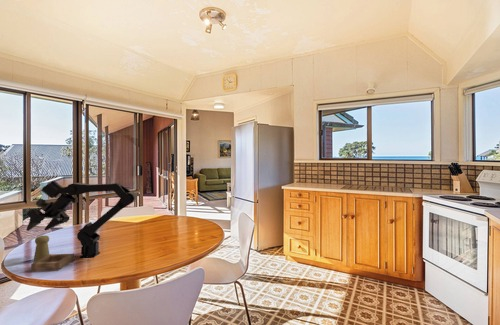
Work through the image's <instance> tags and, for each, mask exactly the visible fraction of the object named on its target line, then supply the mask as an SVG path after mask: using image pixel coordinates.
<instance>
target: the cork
mask: <svg viewBox="0 0 500 325" xmlns="http://www.w3.org/2000/svg"><path fill="white" fill-rule="evenodd" d="M49 242H50V237H49V236H48V235H39V236H37V237H36V238H35V239H34V243H35V251H34V256H33V263H34V262H36V261H38V260H40V259H41V258H43V257H45V256H47V255H49V254H50V249H49Z"/></svg>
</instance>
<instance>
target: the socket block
mask: <svg viewBox="0 0 500 325" xmlns="http://www.w3.org/2000/svg"><path fill="white" fill-rule="evenodd" d="M74 261H75V253H59V254H58V253H57V254H55V253H54V254H52V253H51V254H50V253H49V255H47V256H45V257H43V258H41V259H40V260H38V261H36V262H34V261H33V262H32V263H31V265H30V271H31V272H40V271H42V272H43V271H60V270H61V269H63V268H64V267H66V266H68V265H69V264H70V263H72V262H74Z"/></svg>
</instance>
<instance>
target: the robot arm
mask: <svg viewBox="0 0 500 325" xmlns="http://www.w3.org/2000/svg"><path fill="white" fill-rule="evenodd" d="M40 191H41V192H42V193H43V194H45V195H46V196H48V198H50V199H55V200H54V201H49V200H46V199H43V198H39V199H37V200H36V203H35V205H36V207H37V208H41V209H42V211H43V212H42V211H41V210H40V209H36V208H35V209H34V208H32V209H30V208H29V210H28V211H27V212H26V215H27V216H28V217H29V221H28V222H29V223H28V224H27V227H26V231H28V232H29V231H30V230H32V229H34V228H35V227H37V226H38V225H40V224H41V223H42V221H44V220H45V219H51V220H50V221H49V222H48V223H47V225H46V226H45V227H44V231H48V230H50V229H53V228H55V227H58V226H59V225H61V224H64V223H67V222H69V220H70V216H69V214H67V213H66V212H67V208H68V207H69V206H70V205H71V204H72V203H73V204H76V203H79V199H78V198H79V197H78V196H77V195H81V194H82V195H83V194H87V193H99V192H114V193H115V194H116V195H117V197H119V199H118V201H117V203H116V204H114V206H112V207H111V208H110V209H109V210H108V211H106V212H105V213H104V214H103V215H102V216H100V217H99V218H98V219H97V220H96V221H94V222H93V223H92V221H90V222H88V223H87V224H84V226H83V227H82V228H80V229H79V230H78V233H77V234H76V239H77V240H78V241H79V242H80V245H81V248H80V255H81V256H80V255H79V257H80V258H95V257H97V256H98V255H99V254H100V253H101V251H99V250H100V246H99V245H100V241H99V240H100V238H101V235H99V233H98V231H99V230H100V229H101V228H102V227H103V226H104V225H106V224H107V222H108V221H110V220H111V219H112V218H113V217H115V216H116V215H117V214H118V213H119V212H120V211H121V210H123V209H125V208H126V207H128V206H129V205H132V204H133V203H135V202H136V201H137V198H138V195H137V194H136V193H135V192H133V191H131V190H130V189H128V188H127V187H126V186H124V185H123V184H121V183H119V182H116V183H114V182H113V183H97V184H96V183H95V184H94V183H93V184H91V183H83V182H74V183H70V184H68V185H67V186H63V185H60V184H59V183H58V182H57V181H56V180H52V181H50V182H49V183H47V184H46V185H44V186H43V187H42V188H41V190H40Z"/></svg>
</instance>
